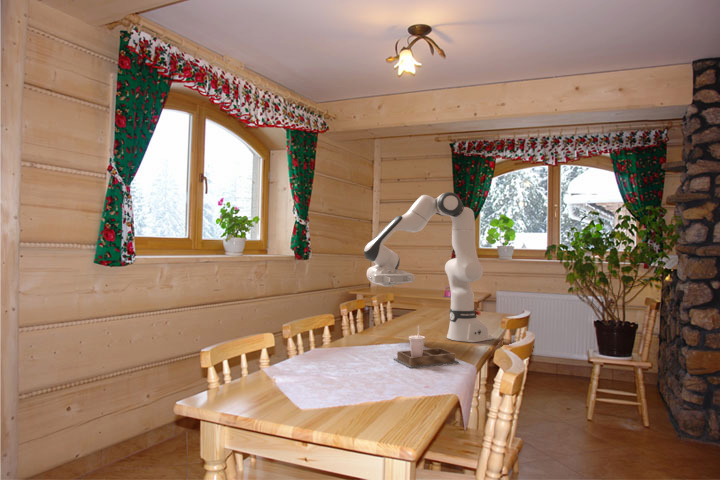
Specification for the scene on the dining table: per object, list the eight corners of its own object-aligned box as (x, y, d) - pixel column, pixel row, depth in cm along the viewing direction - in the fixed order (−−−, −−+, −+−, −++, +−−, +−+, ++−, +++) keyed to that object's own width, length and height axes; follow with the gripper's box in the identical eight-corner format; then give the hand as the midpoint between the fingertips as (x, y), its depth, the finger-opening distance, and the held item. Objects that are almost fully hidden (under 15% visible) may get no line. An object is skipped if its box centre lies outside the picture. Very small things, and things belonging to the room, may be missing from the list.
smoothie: (426, 364, 182) (426, 327, 183) (409, 364, 182) (410, 327, 182) (423, 359, 189) (423, 324, 189) (407, 359, 189) (407, 324, 189)
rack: (440, 355, 197) (440, 347, 197) (454, 361, 188) (455, 353, 188) (397, 359, 189) (397, 351, 189) (410, 366, 180) (410, 358, 180)
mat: (440, 355, 199) (440, 354, 199) (458, 363, 187) (458, 361, 187) (393, 359, 190) (393, 358, 190) (409, 368, 178) (409, 367, 178)
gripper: (366, 270, 219) (379, 272, 206) (405, 270, 227) (420, 272, 215) (366, 284, 219) (379, 287, 207) (405, 283, 227) (420, 286, 215)
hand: (400, 279), depth 211 cm, fingers open, 8 cm apart
